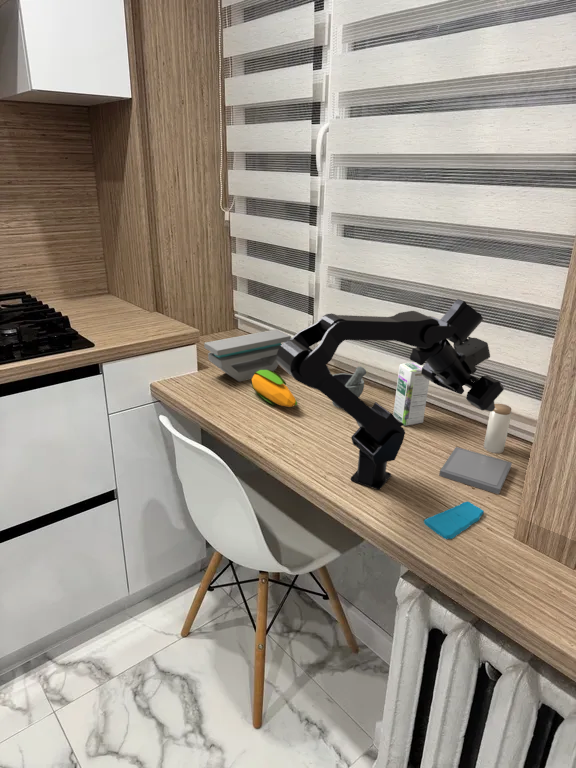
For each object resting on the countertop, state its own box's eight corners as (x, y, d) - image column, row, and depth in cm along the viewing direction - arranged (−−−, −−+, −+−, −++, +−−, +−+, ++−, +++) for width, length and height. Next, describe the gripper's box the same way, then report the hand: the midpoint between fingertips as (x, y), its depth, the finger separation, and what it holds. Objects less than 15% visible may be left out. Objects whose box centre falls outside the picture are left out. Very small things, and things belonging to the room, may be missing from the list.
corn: (267, 360, 149) (307, 385, 134) (269, 385, 152) (308, 411, 137) (244, 366, 145) (282, 393, 130) (246, 391, 149) (284, 420, 133)
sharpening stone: (275, 361, 170) (276, 329, 165) (289, 369, 164) (290, 335, 160) (205, 377, 156) (204, 342, 152) (218, 386, 150) (217, 350, 146)
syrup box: (391, 416, 136) (397, 363, 130) (411, 413, 138) (418, 361, 132) (404, 426, 131) (410, 372, 125) (424, 423, 133) (432, 369, 127)
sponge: (493, 517, 97) (469, 498, 101) (447, 538, 91) (423, 517, 96) (491, 523, 98) (467, 504, 102) (445, 545, 92) (421, 523, 96)
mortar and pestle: (318, 402, 142) (320, 360, 138) (342, 393, 148) (345, 353, 143) (348, 417, 135) (352, 373, 130) (373, 407, 140) (377, 365, 136)
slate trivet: (498, 494, 105) (499, 489, 104) (439, 475, 111) (440, 470, 110) (510, 467, 114) (511, 462, 114) (455, 451, 120) (456, 446, 120)
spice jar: (501, 455, 119) (510, 413, 115) (481, 449, 121) (489, 408, 117) (505, 446, 123) (514, 406, 118) (486, 441, 125) (493, 401, 120)
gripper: (505, 342, 97) (537, 389, 106) (439, 316, 113) (471, 358, 121) (465, 388, 97) (499, 430, 106) (404, 355, 113) (439, 394, 121)
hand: (477, 400), depth 114 cm, fingers open, 9 cm apart
